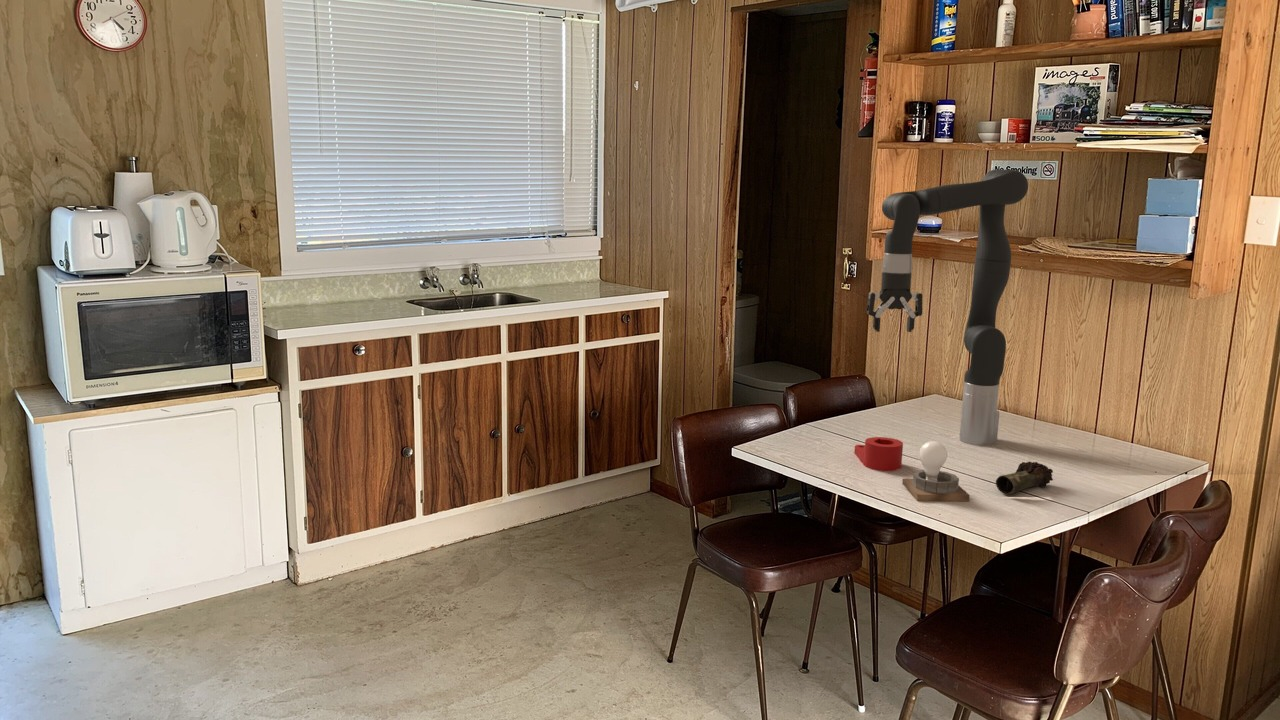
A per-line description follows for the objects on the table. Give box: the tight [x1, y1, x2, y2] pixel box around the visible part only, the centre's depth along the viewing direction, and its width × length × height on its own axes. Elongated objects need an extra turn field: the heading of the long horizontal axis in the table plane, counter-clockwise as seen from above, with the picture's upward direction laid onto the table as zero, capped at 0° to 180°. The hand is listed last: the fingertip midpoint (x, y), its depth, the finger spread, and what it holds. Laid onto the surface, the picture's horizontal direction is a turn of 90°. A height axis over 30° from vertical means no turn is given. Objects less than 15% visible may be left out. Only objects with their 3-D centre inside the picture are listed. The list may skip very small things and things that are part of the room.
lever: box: [853, 436, 904, 472], centre depth 253 cm, size 18×9×7 cm, turn 15°
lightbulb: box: [918, 440, 948, 482], centre depth 227 cm, size 6×6×11 cm
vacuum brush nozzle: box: [995, 461, 1054, 496], centre depth 231 cm, size 18×7×6 cm, turn 125°
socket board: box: [901, 469, 970, 502], centre depth 228 cm, size 12×12×4 cm
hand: (893, 331), depth 257 cm, fingers open, 8 cm apart
